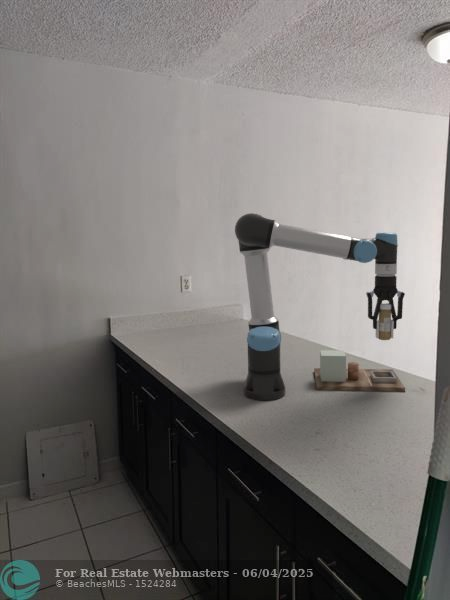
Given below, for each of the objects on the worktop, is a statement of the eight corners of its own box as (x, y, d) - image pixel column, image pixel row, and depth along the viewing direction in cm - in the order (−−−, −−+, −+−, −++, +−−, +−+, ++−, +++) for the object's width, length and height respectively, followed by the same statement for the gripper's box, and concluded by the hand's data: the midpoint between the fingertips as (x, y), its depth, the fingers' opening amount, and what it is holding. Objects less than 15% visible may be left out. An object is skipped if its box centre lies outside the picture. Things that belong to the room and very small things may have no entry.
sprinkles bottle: (376, 338, 179) (376, 302, 177) (387, 337, 180) (388, 302, 178) (381, 340, 175) (381, 304, 173) (393, 340, 175) (393, 304, 173)
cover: (321, 381, 179) (321, 355, 178) (320, 374, 187) (320, 350, 185) (345, 381, 178) (346, 356, 176) (343, 375, 186) (343, 350, 184)
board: (317, 389, 175) (317, 370, 174) (314, 371, 196) (314, 354, 195) (405, 391, 170) (405, 371, 169) (392, 373, 192) (392, 355, 191)
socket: (373, 382, 176) (373, 377, 176) (370, 375, 184) (370, 370, 184) (396, 383, 175) (396, 377, 175) (392, 376, 183) (392, 371, 183)
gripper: (362, 276, 171) (361, 339, 175) (413, 275, 169) (411, 339, 172) (359, 274, 179) (358, 335, 182) (408, 273, 176) (406, 335, 180)
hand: (384, 337), depth 177 cm, fingers closed on sprinkles bottle, 4 cm apart
